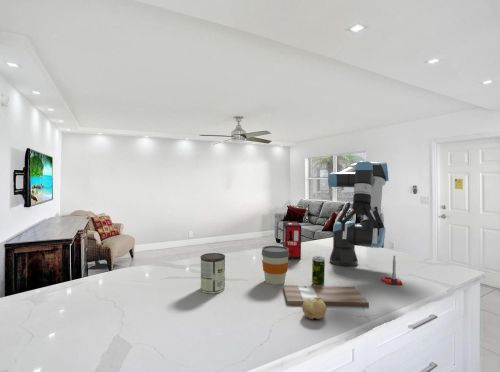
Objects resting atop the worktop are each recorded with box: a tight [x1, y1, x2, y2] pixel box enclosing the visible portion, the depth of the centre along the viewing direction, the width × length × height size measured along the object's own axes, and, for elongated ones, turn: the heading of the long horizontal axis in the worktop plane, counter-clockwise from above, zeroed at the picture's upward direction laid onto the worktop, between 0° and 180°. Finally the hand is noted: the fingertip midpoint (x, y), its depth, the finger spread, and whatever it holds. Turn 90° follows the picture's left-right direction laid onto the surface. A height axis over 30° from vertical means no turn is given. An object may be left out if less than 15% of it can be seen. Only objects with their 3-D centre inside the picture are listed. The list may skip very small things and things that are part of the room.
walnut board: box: [282, 284, 370, 307], centre depth 115 cm, size 16×30×2 cm, turn 89°
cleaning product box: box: [282, 220, 302, 261], centre depth 178 cm, size 16×9×20 cm, turn 179°
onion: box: [301, 294, 327, 321], centre depth 98 cm, size 8×8×7 cm
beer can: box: [311, 255, 326, 286], centre depth 129 cm, size 5×5×12 cm
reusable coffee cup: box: [261, 245, 289, 286], centre depth 132 cm, size 12×13×15 cm
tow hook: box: [380, 255, 403, 286], centre depth 135 cm, size 8×13×9 cm
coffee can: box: [200, 252, 226, 294], centre depth 122 cm, size 10×10×14 cm
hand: (359, 241), depth 128 cm, fingers open, 13 cm apart
